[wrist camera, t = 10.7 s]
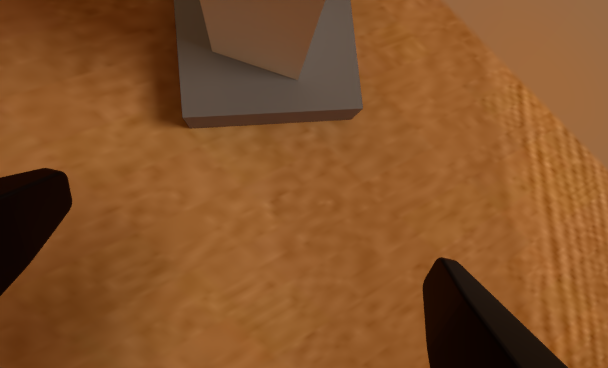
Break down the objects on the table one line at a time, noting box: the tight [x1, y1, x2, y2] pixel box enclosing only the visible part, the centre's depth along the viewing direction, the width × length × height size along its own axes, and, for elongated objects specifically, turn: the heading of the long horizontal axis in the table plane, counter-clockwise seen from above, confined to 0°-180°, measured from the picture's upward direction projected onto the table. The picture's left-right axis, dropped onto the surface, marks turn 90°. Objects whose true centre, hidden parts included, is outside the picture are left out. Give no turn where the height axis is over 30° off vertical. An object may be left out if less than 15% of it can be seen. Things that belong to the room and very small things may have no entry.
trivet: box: [174, 0, 363, 128], centre depth 18 cm, size 9×9×2 cm
